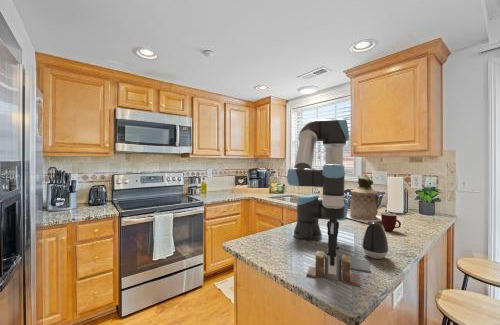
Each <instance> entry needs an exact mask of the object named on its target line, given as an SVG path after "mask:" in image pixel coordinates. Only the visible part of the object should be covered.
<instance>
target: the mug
mask: <svg viewBox="0 0 500 325" xmlns="http://www.w3.org/2000/svg"><path fill="white" fill-rule="evenodd" d="M380 216H381V219H382V221H381V223H382V224H381V225H382V227H383V229H384V231H386V232H393V231H394V229H398V228H400V227H402V224H401V221H400V220H399V219H397V214H395V213H391V212H389V213H388V212H381V214H380ZM397 223H398V226H396V224H397Z"/></svg>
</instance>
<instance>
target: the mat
mask: <svg viewBox="0 0 500 325" xmlns="http://www.w3.org/2000/svg"><path fill="white" fill-rule="evenodd" d="M339 257H340V258H341V269H342V256H340V255H339ZM350 270H352V271H353V270H354V271H357V272H358V271H359V272H364V273H371V272H372V270H371V265H370V260H365V259H358V258H352V257H350Z"/></svg>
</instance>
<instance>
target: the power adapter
mask: <svg viewBox="0 0 500 325" xmlns="http://www.w3.org/2000/svg"><path fill="white" fill-rule="evenodd" d="M326 251H327V253H328V248H327V249H326ZM336 256H337V263H336V275H334V274H328V255H326V254H324V276H325V277H328V278H330V279H333V280H335V281H340V280H342V268H341V258H340V257H341V256H340V255H339V250H336ZM339 256H340V257H339Z"/></svg>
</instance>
